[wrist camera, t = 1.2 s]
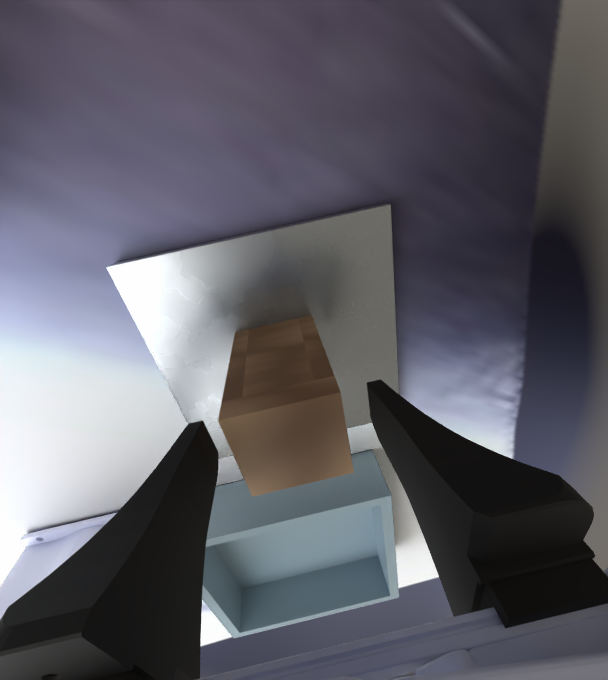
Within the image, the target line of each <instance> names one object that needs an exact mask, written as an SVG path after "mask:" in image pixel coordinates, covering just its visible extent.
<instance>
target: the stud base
mask: <svg viewBox="0 0 608 680" xmlns="http://www.w3.org/2000/svg"><path fill="white" fill-rule="evenodd" d="M106 268H107V270H108V271H109V273H110V275H111V277H112V279H113V281H114V283H115V285H116V287H117V289H118V291H119V293H120V294H121V296H122V298H123V300H124V302H125V304H126V306H127V308H128V310H129V312H130V314H131V316H132V317H133V319H134V321H135V323H136V325H137V327H138V329H139V331H140V333H141V335H142V337H143V339H144V340H145V342H146V344H147V346H148V348H149V350H150V352H151V354H152V356H153V358H154V360H155V362H156V363H157V365H158V367H159V369H160V371H161V373H162V375H163V377H164V379H165V381H166V383H167V385H168V387H169V388H170V390H171V392H172V394H173V396H174V398H175V400H176V402H177V404H178V406H179V408H180V410H181V411H182V413H183V415H184V417H185V419H186V421H187V423H188V424H189V423H193V422H197V421H202V420H203V421H204V423H205V426H206V428H207V430H208V432H209V434H210V436H211V438H212V440H213V442H214V444H215V446H216V448H217V450H218V452H219V457H218V459H219V458H223V457H227V456H232V455H233V453H232V451H231V449H230V446H229V444H228V442H227V440H226V437H225V435H224V433H223V431H222V429H221V426H220V424H219V422H218V418H219V412H220V407H221V402H222V397H223V392H224V387H225V381H226V376H227V371H228V366H229V361H230V355H231V350H232V345H233V340H234V335H235V332H239V331H244V330H248V329H252V328H257V327H261V326H266V325H270V324H274V323H279V322H283V321H287V320H292V319H296V318H301V317H305V316H309V315H312V317H313V320H314V322H315V325H316V328H317V330H318V333H319V336H320V338H321V341H322V344H323V346H324V349H325V352H326V354H327V357H328V360H329V362H330V365H331V368H332V370H333V373H334V376H335V378H336V381H337V384H338V386H339V389H340V392H341V397H342V403H343V409H344V416H345V422H346V428H351V427H355V426H359V425H364V424H368V423H372V420H371V418H370V409H369V400H368V391H367V382H371V381H376V380H380V379H381V380H382V381H384V382H385V383H386V384H387V385H388V386H389V387H391V388H392V389H393V390H394V391H395V392H396V393H398V394H399V386H398V363H397V340H396V316H395V293H394V270H393V247H392V223H391V204H385V203H382V204H377V205H373V206H368V207H364V208H359V209H355V210H350V211H346V212H341V213H337V214H332V215H328V216H323V217H319V218H314V219H310V220H305V221H301V222H296V223H292V224H287V225H283V226H278V227H274V228H269V229H264V230H260V231H255V232H251V233H246V234H242V235H237V236H233V237H228V238H224V239H219V240H215V241H210V242H206V243H201V244H197V245H192V246H188V247H183V248H179V249H174V250H170V251H165V252H161V253H156V254H151V255H147V256H142V257H138V258H133V259H129V260H124V261H120V262H115V263H114V264H112V265H110V266H108V267H106Z"/></svg>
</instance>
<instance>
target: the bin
mask: <svg viewBox="0 0 608 680" xmlns="http://www.w3.org/2000/svg"><path fill="white" fill-rule="evenodd" d="M351 458H352V464H353V470H354V473H350V474H346V475H342V476H337V477H333V478H329V479H325V480H321V481H316V482H312V483H308V484H304V485H300V486H295V487H291V488H287V489H283V490H279V491H274V492H270V493H266V494H262V495H258V496H253V497H252V495H251V493H250V491H249V489H248V486H247V484H246V482H245V480H241V481H237V482H233V483H229V484H224V485H220V486H216V488H215V494H214V499H213V505H212V510H211V516H210V521H209V527H208V533H207V540H206V549H205V561H204V573H203V589H202V600H203V601H204V602H205V603H206V605H207V606H208V607H209V608H210V610H211V611H212V612H213V613H214V615H215V616H216V617H217V618H218V619H219V621H220V622H221V623H222V624H223V626H224V627H225V628H226V629H227V631H228V632H229V633H230V634H231V635H232V637H233V638H237V637H241V636H245V635H249V634H253V633H257V632H261V631H265V630H269V629H274V628H277V627H282V626H286V625H290V624H294V623H298V622H302V621H306V620H310V619H314V618H318V617H322V616H326V615H330V614H334V613H338V612H342V611H347V610H350V609H355V608H358V607H362V606H367V605H371V604H374V603H379V602H383V601H387V600H391V599H395V598H399V593H398V578H397V565H396V552H395V538H394V525H393V512H392V498H391V494H390V491H389V489H388V486H387V484H386V481H385V479H384V477H383V474H382V472H381V469H380V467H379V464H378V462H377V460H376V457H375V455H374V452H373V450H368V451H364V452H360V453H355V454H351Z"/></svg>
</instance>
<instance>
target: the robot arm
mask: <svg viewBox="0 0 608 680" xmlns="http://www.w3.org/2000/svg"><path fill="white" fill-rule="evenodd" d="M367 391H368V400H369V409H370V418H371V420H372V423H373V426H374V428H375V431H376V434H377V436H378V439H379V441H380V443H381V445H382V447H383V449H384V450H385V452H386V454H387V456H388V458H389V460H390V462H391V464H392V466H393V468H394V470H395V472H396V474H397V475H398V477H399V479H400V481H401V483H402V485H403V487H404V489H405V491H406V494H407V496H408V498H409V501H410V503H411V506H412V508H413V510H414V513H415V515H416V518H417V520H418V523H419V525H420V528H421V530H422V533H423V535H424V538H425V541H426V543H427V546H428V548H429V551H430V553H431V556H432V559H433V561H434V564H435V567H436V569H437V572H438V575H439V577H440V580H441V583H442V585H443V588H444V591H445V594H446V596H447V599H448V602H449V605H450V607H451V610H452V612H453V616H454V617H451V618H448V619H443V620H439V621H435V622H431V623H426V624H422V625H418V626H414V627H410V628H406V629H402V630H398V631H394V632H390V633H386V634H382V635H378V636H374V637H369V638H365V639H361V640H357V641H353V642H349V643H345V644H340V645H336V646H332V647H329V648H324V649H320V650H316V651H312V652H307V653H304V654H299V655H295V656H291V657H287V658H283V659H279V660H275V661H271V662H266V663H262V664H258V665H254V666H250V667H246V668H242V669H238V670H234V671H230V672H225V673H221V674H217V675H213V676H209V677H205V678H201V679H200V633H201V608H202V589H203V573H204V561H205V549H206V540H207V533H208V527H209V521H210V516H211V510H212V505H213V499H214V494H215V488H216V482H217V476H218V457H219V452H218V450H217V448H216V446H215V444H214V442H213V440H212V438H211V436H210V434H209V432H208V430H207V428H206V426H205V423H204V421H203V420H202V421H197V422H193V423H189V424H188V425H187V427H186V428H185V429H184V431H183V432H182V433H181V435H180V436H179V438H178V439H177V440H176V442H175V443H174V444H173V446H172V447H171V449H170V450H169V451H168V453H167V454H166V455H165V457H164V458H163V459H162V461H161V462H160V463H159V465H158V466H157V467H156V468H155V470H154V471H153V472H152V473H151V475H150V476H149V477H148V478H147V479H146V481H145V482H144V483H143V484H142V486H141V487H140V488H139V489H138V490H137V492H136V493H135V494H134V495H133V496H132V497H131V498H130V499H129V501H128V502H127V503H126V504H125V505H124V506H123V507H122V508H121V509H120V510H119V511H118V512H117V513H113V514H109V515H105V516H100V517H96V518H92V519H88V520H83V521H79V522H75V523H71V524H67V525H62V526H58V527H54V528H50V529H45V530H41V531H37V532H33V533H29V534H25V535H24V536H23V537H22V538H21V540H20V543H21V544H22V545H24V546H25V547H26V548H25V550H24V552H23V553H22V555H21V556H20V558H19V559H18V561H17V562H16V564H15V565H14V567H13V568H12V570H11V571H10V573H9V574H8V576H7V577H6V579H5V581H4V582H3V584H2V585H1V587H0V680H384V679H388V678H392V677H396V676H400V675H404V674H408V673H412V672H415V676H411V677H403V678H395V679H388V680H608V568H606V569H605V570H604V571H602V570H601V569H600V567H599V566H598V565H597V564H596V563H595V562H594V560H593V559H592V558H594V557H595V555H594V552H593V551H592V550H591V549H590V548H589V546H588V545H586V543H585V542H584V541H583V539H584V537H585V535H586V533H587V531H588V530H589V528H590V526H591V524H592V521H593V517H594V512H593V508H592V506H591V505H589V503H587V502H586V501H585V500H584V499H583V498H582V497H581V496H580V495H579V493H577V491H576V490H575V489H574V488H572V487H571V486H570V485H569V484H568V483H567V482H566V481H565V480H563V479H562V478H561V477H560V476H559V475H556V474H553V473H550V472H547V471H544V470H541V469H538V468H535V467H532V466H529V465H527V464H523V463H521V462H518V461H516V460H513V459H511V458H508V457H506V456H503V455H501V454H498V453H496V452H494V451H491V450H489V449H487V448H485V447H483V446H481V445H478V444H476V443H474V442H472V441H470V440H468V439H466V438H464V437H462V436H460V435H458V434H457V433H455V432H453V431H451V430H449V429H448V428H446V427H444V426H443V425H441V424H439V423H438V422H436V421H435V420H433V419H432V418H430V417H429V416H427V415H426V414H424V413H423V412H421V411H420V410H419V409H417V408H416V407H415V406H413V405H412V404H411V403H409V402H408V401H407V400H405V399H404V398H403V397H401V396H400V395H399V394H398V393H396V392H395V391H394V390H393V389H392V388H391V387H389V386H388V385H387V384H386V383H385V382H384V381H382V380H381V379H380V380H376V381H371V382H367Z"/></svg>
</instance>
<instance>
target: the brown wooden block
mask: <svg viewBox="0 0 608 680" xmlns="http://www.w3.org/2000/svg"><path fill="white" fill-rule="evenodd" d="M218 422H219V424H220V426H221V429H222V431H223V433H224V435H225V437H226V440H227V442H228V444H229V446H230V449H231V451H232V453H233V455H234V457H235V460H236V462H237V464H238V466H239V469H240V471H241V473H242V475H243V477H244V480H245V482H246V484H247V486H248V489H249V491H250V493H251V495H252V497H253V496H258V495H262V494H266V493H270V492H274V491H279V490H283V489H287V488H291V487H295V486H300V485H304V484H308V483H312V482H316V481H321V480H325V479H329V478H333V477H337V476H342V475H346V474H350V473H354V470H353V464H352V458H351V452H350V446H349V440H348V434H347V428H346V422H345V416H344V409H343V403H342V397H341V392H340V389H339V386H338V384H337V381H336V378H335V376H334V373H333V370H332V368H331V365H330V362H329V360H328V357H327V354H326V352H325V349H324V346H323V344H322V341H321V338H320V336H319V333H318V330H317V328H316V325H315V322H314V320H313V317H312V315H309V316H305V317H301V318H296V319H292V320H287V321H283V322H279V323H274V324H270V325H266V326H261V327H257V328H252V329H248V330H244V331H239V332H235V335H234V340H233V345H232V350H231V355H230V361H229V366H228V371H227V376H226V381H225V387H224V392H223V397H222V402H221V407H220V412H219V418H218Z"/></svg>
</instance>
